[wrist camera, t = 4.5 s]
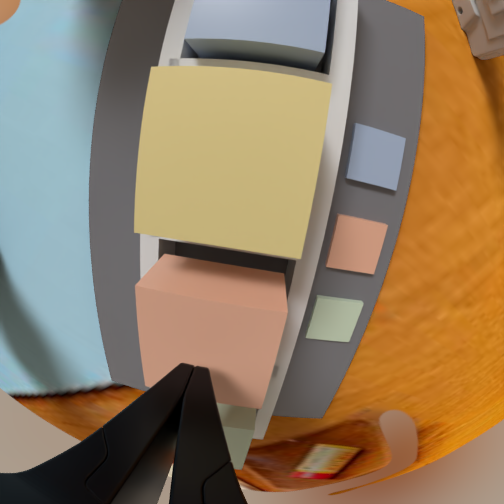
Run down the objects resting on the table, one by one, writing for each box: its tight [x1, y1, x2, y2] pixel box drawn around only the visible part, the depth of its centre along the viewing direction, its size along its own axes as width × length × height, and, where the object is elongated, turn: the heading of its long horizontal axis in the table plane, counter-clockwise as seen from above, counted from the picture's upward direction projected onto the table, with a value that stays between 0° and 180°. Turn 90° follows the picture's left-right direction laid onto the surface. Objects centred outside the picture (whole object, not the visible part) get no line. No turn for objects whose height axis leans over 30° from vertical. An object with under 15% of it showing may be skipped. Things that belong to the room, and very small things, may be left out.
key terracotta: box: [135, 254, 288, 409], centre depth 10 cm, size 4×4×3 cm
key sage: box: [217, 403, 256, 470], centre depth 12 cm, size 4×4×3 cm
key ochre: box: [134, 66, 332, 259], centre depth 7 cm, size 4×4×3 cm
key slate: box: [184, 0, 330, 71], centre depth 7 cm, size 4×4×3 cm
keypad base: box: [89, 0, 425, 439], centre depth 12 cm, size 15×25×3 cm, turn 172°
